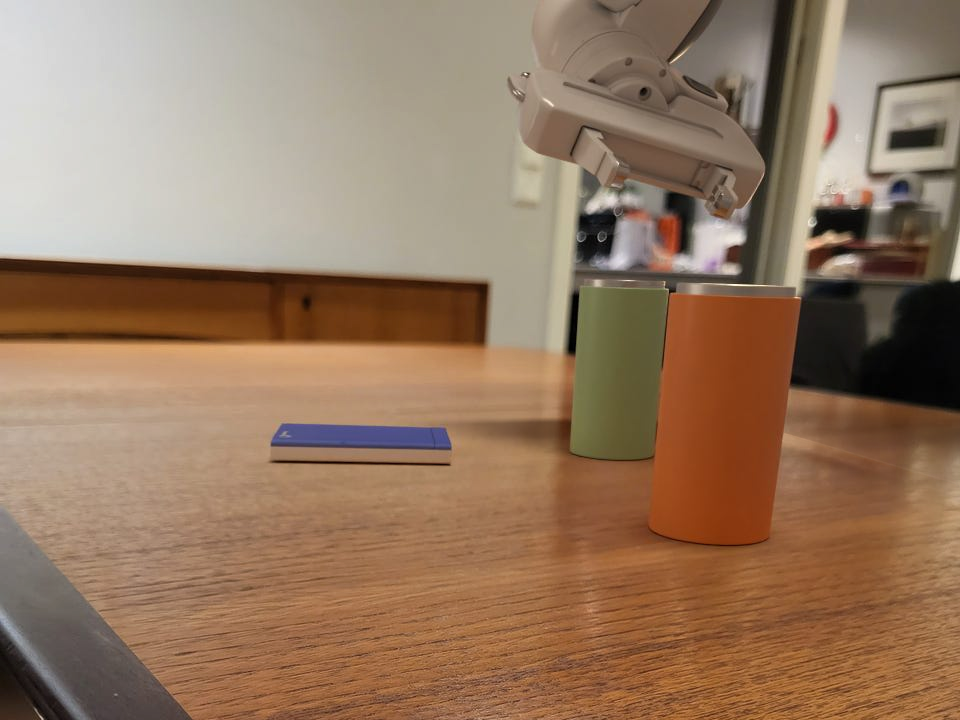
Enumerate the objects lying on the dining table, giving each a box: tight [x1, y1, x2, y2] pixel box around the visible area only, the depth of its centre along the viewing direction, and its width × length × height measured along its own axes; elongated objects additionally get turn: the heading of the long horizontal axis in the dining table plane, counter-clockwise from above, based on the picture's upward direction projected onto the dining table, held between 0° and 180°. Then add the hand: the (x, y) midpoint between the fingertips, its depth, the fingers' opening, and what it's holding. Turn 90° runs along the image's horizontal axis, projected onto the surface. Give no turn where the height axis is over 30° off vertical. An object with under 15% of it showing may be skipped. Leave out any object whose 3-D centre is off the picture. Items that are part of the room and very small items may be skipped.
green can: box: [569, 278, 669, 461], centre depth 75 cm, size 6×6×12 cm
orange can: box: [648, 282, 802, 546], centre depth 52 cm, size 6×6×12 cm
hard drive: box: [269, 422, 453, 465], centre depth 73 cm, size 2×8×12 cm
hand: (673, 194), depth 73 cm, fingers open, 8 cm apart
